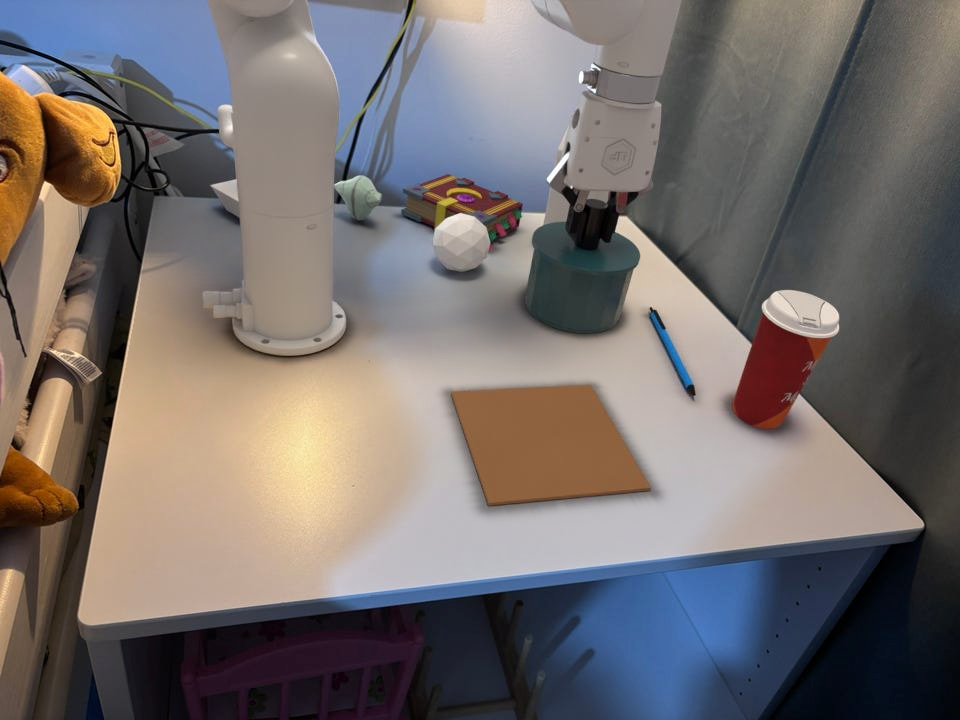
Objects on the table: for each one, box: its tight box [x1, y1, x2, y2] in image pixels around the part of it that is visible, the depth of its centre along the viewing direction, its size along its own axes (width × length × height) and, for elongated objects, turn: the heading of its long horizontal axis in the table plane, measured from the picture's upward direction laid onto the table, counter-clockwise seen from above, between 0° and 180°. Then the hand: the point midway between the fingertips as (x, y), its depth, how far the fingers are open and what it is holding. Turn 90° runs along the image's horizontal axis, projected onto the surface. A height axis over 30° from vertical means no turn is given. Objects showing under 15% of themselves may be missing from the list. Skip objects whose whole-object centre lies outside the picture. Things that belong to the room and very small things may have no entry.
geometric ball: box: [431, 213, 491, 273], centre depth 98 cm, size 8×8×8 cm
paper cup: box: [732, 289, 840, 430], centre depth 76 cm, size 8×8×14 cm
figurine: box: [209, 104, 240, 219], centre depth 101 cm, size 7×9×15 cm
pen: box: [649, 306, 697, 398], centre depth 88 cm, size 1×19×1 cm, turn 4°
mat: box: [450, 384, 652, 507], centre depth 72 cm, size 16×16×1 cm
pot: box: [524, 248, 635, 334], centre depth 92 cm, size 13×13×8 cm
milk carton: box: [542, 114, 609, 226], centre depth 105 cm, size 7×7×19 cm
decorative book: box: [400, 173, 524, 252], centre depth 110 cm, size 11×16×5 cm
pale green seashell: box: [334, 175, 383, 221], centre depth 106 cm, size 8×4×7 cm, turn 65°
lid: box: [531, 199, 641, 276], centre depth 88 cm, size 14×14×7 cm
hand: (588, 236), depth 89 cm, fingers open, 3 cm apart
